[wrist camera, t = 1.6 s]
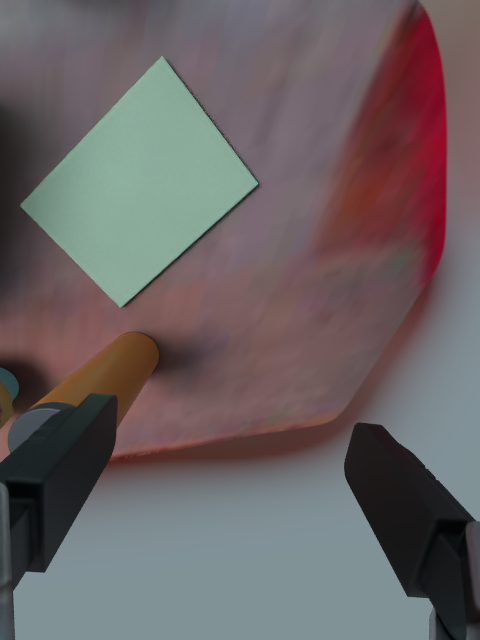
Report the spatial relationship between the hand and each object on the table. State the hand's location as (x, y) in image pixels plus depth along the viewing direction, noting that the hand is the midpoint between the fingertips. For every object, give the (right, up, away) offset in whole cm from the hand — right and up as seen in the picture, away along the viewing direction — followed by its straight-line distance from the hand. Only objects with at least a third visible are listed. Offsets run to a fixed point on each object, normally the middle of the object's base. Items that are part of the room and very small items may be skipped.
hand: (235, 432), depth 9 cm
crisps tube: (-12, 0, +24) cm, 27 cm away
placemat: (-10, +17, +20) cm, 28 cm away
